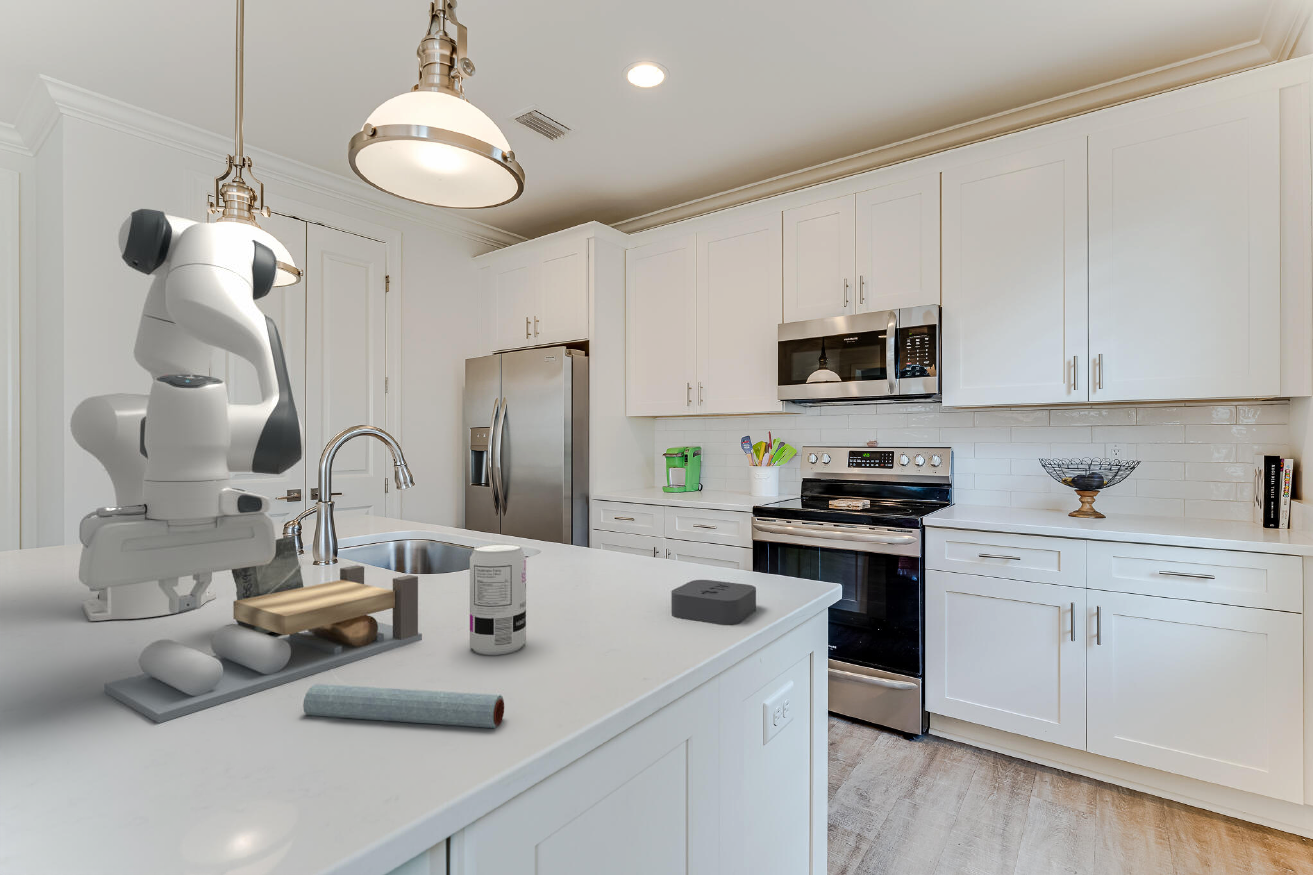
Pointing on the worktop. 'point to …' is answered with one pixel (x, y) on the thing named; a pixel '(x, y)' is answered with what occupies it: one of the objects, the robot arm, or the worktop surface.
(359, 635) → the copper roller
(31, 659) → the worktop surface
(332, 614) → the oak slab
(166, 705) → the roller bed
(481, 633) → the supplement can
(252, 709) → the worktop surface
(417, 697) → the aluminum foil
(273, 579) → the stone block
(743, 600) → the streaming box
